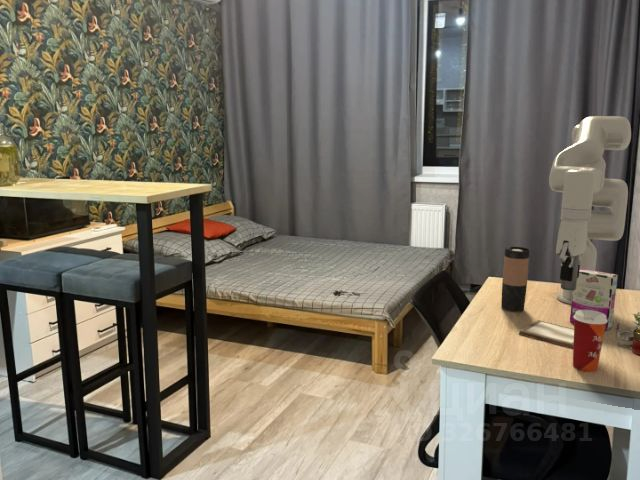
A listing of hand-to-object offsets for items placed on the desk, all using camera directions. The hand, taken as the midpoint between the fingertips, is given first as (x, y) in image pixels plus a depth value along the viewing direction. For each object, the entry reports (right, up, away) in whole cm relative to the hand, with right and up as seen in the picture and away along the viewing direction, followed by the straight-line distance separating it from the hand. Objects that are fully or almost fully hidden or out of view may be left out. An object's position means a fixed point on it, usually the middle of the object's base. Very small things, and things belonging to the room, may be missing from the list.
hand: (569, 278), depth 163 cm
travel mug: (-7, -12, +28) cm, 31 cm away
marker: (0, -3, +1) cm, 3 cm away
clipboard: (-2, -17, +4) cm, 17 cm away
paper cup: (-4, -21, -18) cm, 28 cm away
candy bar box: (+12, -15, +13) cm, 24 cm away
